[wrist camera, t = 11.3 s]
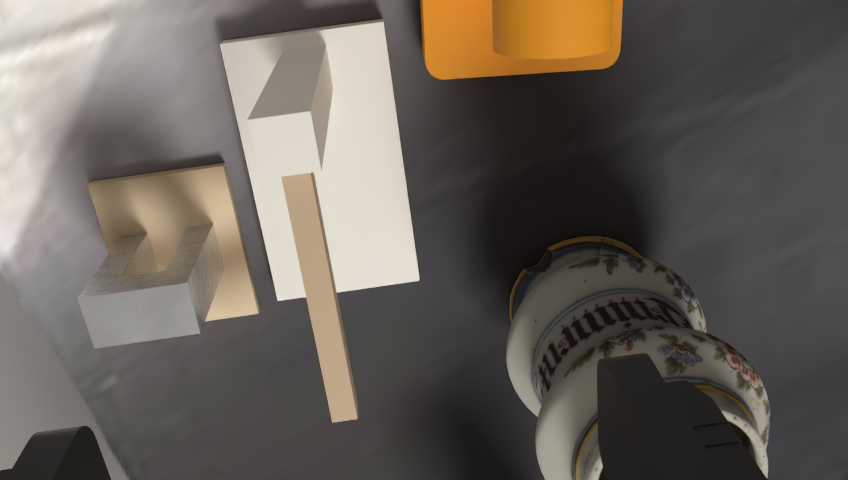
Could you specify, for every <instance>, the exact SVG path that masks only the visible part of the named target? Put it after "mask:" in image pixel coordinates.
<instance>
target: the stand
mask: <svg viewBox="0 0 848 480" xmlns="http://www.w3.org/2000/svg"><path fill="white" fill-rule="evenodd" d="M220 47H221V52H222V56H223V60H224V65H225V69H226V74H227V78H228V83H229V87H230V91H231V96H232V100H233V105H234V109H235V114H236V118H237V122H238V127H239V131H240V136H241V140H242V145H243V149H244V154H245V158H246V162H247V167H248V171H249V176H250V180H251V185H252V189H253V193H254V198H255V202H256V207H257V211H258V216H259V220H260V224H261V229H262V233H263V238H264V242H265V247H266V251H267V255H268V260H269V264H270V269H271V273H272V278H273V282H274V286H275V291H276V295H277V300H278V301H281V300H288V299H295V298H302V297H306V298H307V303H308V308H309V313H310V317H311V322H312V327H313V332H314V337H315V341H316V346H317V351H318V356H319V361H320V365H321V370H322V375H323V380H324V385H325V389H326V394H327V399H328V404H329V409H330V413H331V418H332V423H333V422H340V421H347V420H353V419H358V403H357V398H356V392H355V387H354V382H353V376H352V371H351V366H350V361H349V355H348V350H347V345H346V340H345V334H344V329H343V324H342V319H341V313H340V308H339V303H338V297H337V292H344V291H351V290H358V289H365V288H372V287H379V286H386V285H392V284H399V283H406V282H413V281H420V280H419V272H418V265H417V258H416V251H415V244H414V237H413V229H412V222H411V215H410V208H409V201H408V194H407V187H406V179H405V172H404V165H403V158H402V151H401V144H400V137H399V129H398V122H397V115H396V108H395V101H394V94H393V86H392V79H391V72H390V65H389V58H388V51H387V44H386V36H385V29H384V22H383V19H377V20H370V21H362V22H355V23H348V24H341V25H333V26H326V27H319V28H311V29H304V30H297V31H290V32H282V33H275V34H268V35H260V36H253V37H246V38H238V39H231V40H224V41H222V42H221V44H220Z"/></svg>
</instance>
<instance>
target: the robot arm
mask: <svg viewBox="0 0 848 480" xmlns="http://www.w3.org/2000/svg"><path fill="white" fill-rule="evenodd" d="M597 413H598V444H599V451H600V456H601V461H602V465H603V469H604V472H605V475H606V478H607V480H768V479H767V478H766V476H765V475H764V474H763V472H762V471H761V469H760V468H759V466H758V465H757V463H756V462H755V460H754V459H753V457H752V456H751V454H750V453H749V451H748V450H747V448H746V447H745V446H742V442H741V440H740V438H739V437H738V435H737V434H736V432H735V431H734V429H733V428H732V426H730V427H729V423H728V420H727V419H726V417H725V416H724V414H723V413H722V412H721V410H720V409H719V407H718V406H717V404H716V403H715V401H714V400H713V398H711V397H710V396H708V395H707V394H705V393H704V392H703V391H701V390H700V389H698V388H697V387H695V386H694V385H692V384H691V383H689V382H688V381H686V380H682V381H674V382H667V383H666V382H665V381H664V379H663V377H662V376H661V374H660V372H659V371H658V369H657V367H656V366H655V364H654V363H653V361H652V359H651V358H650V356H649V355H648V354H647V353H640V354H632V355H625V356H617V357H610V358H602V359H599V360H598V364H597ZM0 480H111V478H110V476H109V473H108V470H107V467H106V465H105V462H104V459H103V457H102V453H101V451H100V448H99V445H98V443H97V440H96V437H95V435H94V433H93V431H92V430H91V429H90V428H89V427H87V426H81V427H74V428H66V429H59V430H51V431H44V432H37V433H35V434H34V435H33V436H32V437H31V438H30V440H29V441H28V443H27V444H26V446H25V448H24V449H23V451H22V453H21V455H20V456H19V458H18V460H17V461H16V463H15V465H14V466H13V468H12V469H7V470H1V471H0Z"/></svg>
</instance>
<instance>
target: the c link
mask: <svg viewBox="0 0 848 480" xmlns="http://www.w3.org/2000/svg"><path fill="white" fill-rule="evenodd" d="M224 268H225V267H224V263H223V260H222V256H221V252H220V248H219V244H218V240H217V236H216V232H215V228H214V224H208V225H201V226H194V227H187V229H186V231H185V233H184V234H183V236H182V238H181V240H180V242H179V244H178V246H177V248H176V250H175V251H174V253H173V255H172V257H171V259H170V261H169V263H168V265H167V267H166V268H165V270H164V271H159V270H158V267H157V263H156V260H155V257H154V253H153V250H152V246H151V243H150V239H149V236H148V233H144V234H137V235H130V236H123V237H121V238H120V239H119V241H118V242H117V243H116V245H115V246H114V248H113V249H112V251H111V252H110V253H109V255H108V256H107V258H106V259H105V260H104V262H103V263H102V265H101V266H100V267H99V269H98V270H97V272H96V273H95V274H94V276H93V277H92V279H91V280H90V282H89V283H88V284H87V286H86V287H85V289H84V290H83V291H82V293H81V294H80V296H79V297H78V298H77V299H78V302H79V305H80V308H81V311H82V313H83V316H84V319H85V322H86V325H87V328H88V331H89V334H90V337H91V340H92V343H93V345H94V348H102V347H108V346H115V345H122V344H129V343H136V342H143V341H150V340H157V339H164V338H171V337H178V336H185V335H192V334H199V333H201V331H202V328H203V325H204V322H205V320H206V317H207V314H208V312H209V309H210V306H211V303H212V301H213V298H214V295H215V293H216V290H217V287H218V284H219V282H220V279H221V276H222V274H223V271H224Z"/></svg>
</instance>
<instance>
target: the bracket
mask: <svg viewBox="0 0 848 480" xmlns="http://www.w3.org/2000/svg"><path fill="white" fill-rule="evenodd" d="M420 6H421V26H422V46H423V59H424V62H425V64H426V67H427V69H428V71H429V72H430V74H431V75H432V76H434V77H436V78H438V79H443V80H445V79H460V78H475V77H490V76H505V75H520V74H535V73H550V72H565V71H580V70H595V69H605V68H607V67H609V66H611V65H612V64H614V63H615V61H616V60H617V59H618V57H619V54H620V48H621V28H622V8H623V0H420Z"/></svg>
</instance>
